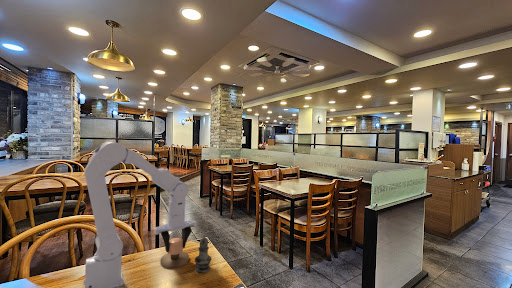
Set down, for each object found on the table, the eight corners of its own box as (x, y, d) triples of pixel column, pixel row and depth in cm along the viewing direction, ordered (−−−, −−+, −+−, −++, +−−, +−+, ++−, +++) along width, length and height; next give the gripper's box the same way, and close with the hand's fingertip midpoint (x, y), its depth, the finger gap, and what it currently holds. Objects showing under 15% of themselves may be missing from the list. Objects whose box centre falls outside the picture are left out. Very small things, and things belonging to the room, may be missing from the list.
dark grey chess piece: (213, 265, 81) (214, 233, 81) (208, 274, 75) (209, 240, 75) (197, 263, 81) (199, 231, 81) (191, 272, 76) (193, 238, 75)
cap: (166, 249, 83) (166, 239, 83) (180, 246, 86) (180, 236, 86) (169, 256, 79) (170, 245, 78) (184, 252, 82) (184, 242, 81)
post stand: (163, 271, 75) (164, 257, 75) (157, 257, 84) (158, 244, 83) (192, 263, 81) (193, 250, 81) (184, 251, 89) (184, 239, 89)
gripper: (158, 220, 74) (156, 259, 75) (199, 213, 83) (197, 248, 83) (154, 213, 80) (152, 250, 80) (193, 207, 88) (191, 240, 89)
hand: (175, 248), depth 82 cm, fingers closed on cap, 5 cm apart
